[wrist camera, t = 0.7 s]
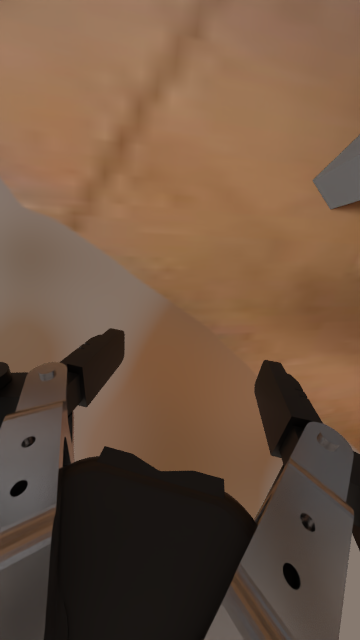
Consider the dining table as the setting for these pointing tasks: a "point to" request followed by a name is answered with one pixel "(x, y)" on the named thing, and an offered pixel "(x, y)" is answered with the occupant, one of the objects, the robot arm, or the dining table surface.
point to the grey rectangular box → (341, 177)
